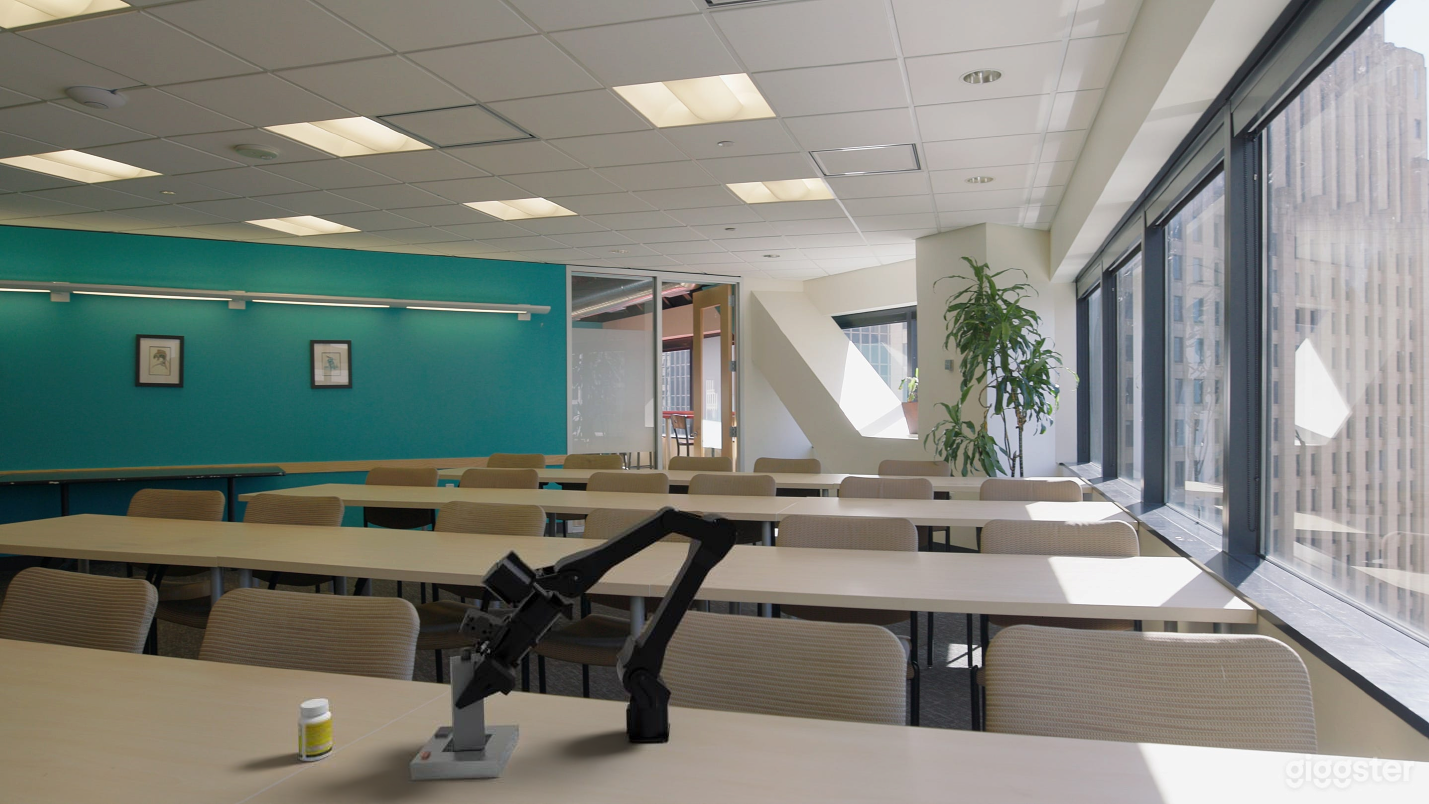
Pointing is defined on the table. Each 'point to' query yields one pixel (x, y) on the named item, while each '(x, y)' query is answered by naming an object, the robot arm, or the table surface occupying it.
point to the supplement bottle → (314, 730)
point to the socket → (465, 755)
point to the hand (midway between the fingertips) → (458, 701)
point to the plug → (470, 718)
